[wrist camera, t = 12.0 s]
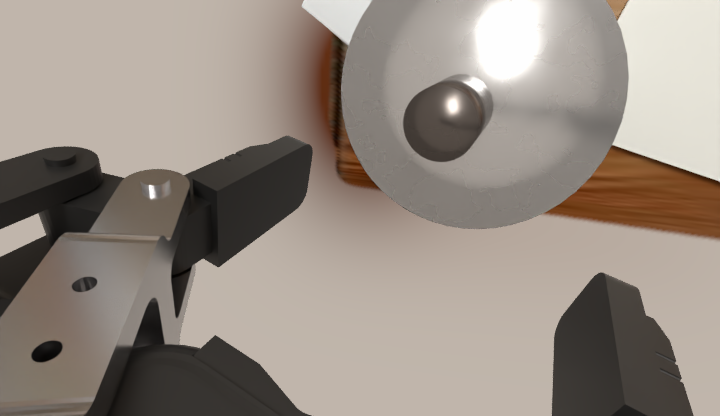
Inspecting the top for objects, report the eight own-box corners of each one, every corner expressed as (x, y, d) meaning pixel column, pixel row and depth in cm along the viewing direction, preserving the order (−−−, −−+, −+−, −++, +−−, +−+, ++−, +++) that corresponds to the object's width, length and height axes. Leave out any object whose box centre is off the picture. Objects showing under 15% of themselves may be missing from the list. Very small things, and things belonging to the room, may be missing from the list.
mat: (954, -26, 24) (960, -26, 24) (747, 189, 33) (749, 191, 33) (671, -78, 28) (672, -79, 28) (559, 125, 38) (559, 126, 37)
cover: (647, -2, 30) (762, -24, 12) (546, 172, 40) (524, 310, 21) (456, -47, 35) (328, -112, 17) (407, 118, 45) (291, 193, 26)
